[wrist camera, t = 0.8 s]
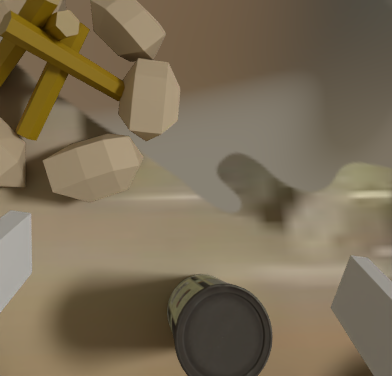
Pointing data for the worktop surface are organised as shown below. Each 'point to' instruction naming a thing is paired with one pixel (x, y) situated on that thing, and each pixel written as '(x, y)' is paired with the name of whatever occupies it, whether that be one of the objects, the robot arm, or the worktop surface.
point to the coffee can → (218, 328)
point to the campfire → (94, 76)
